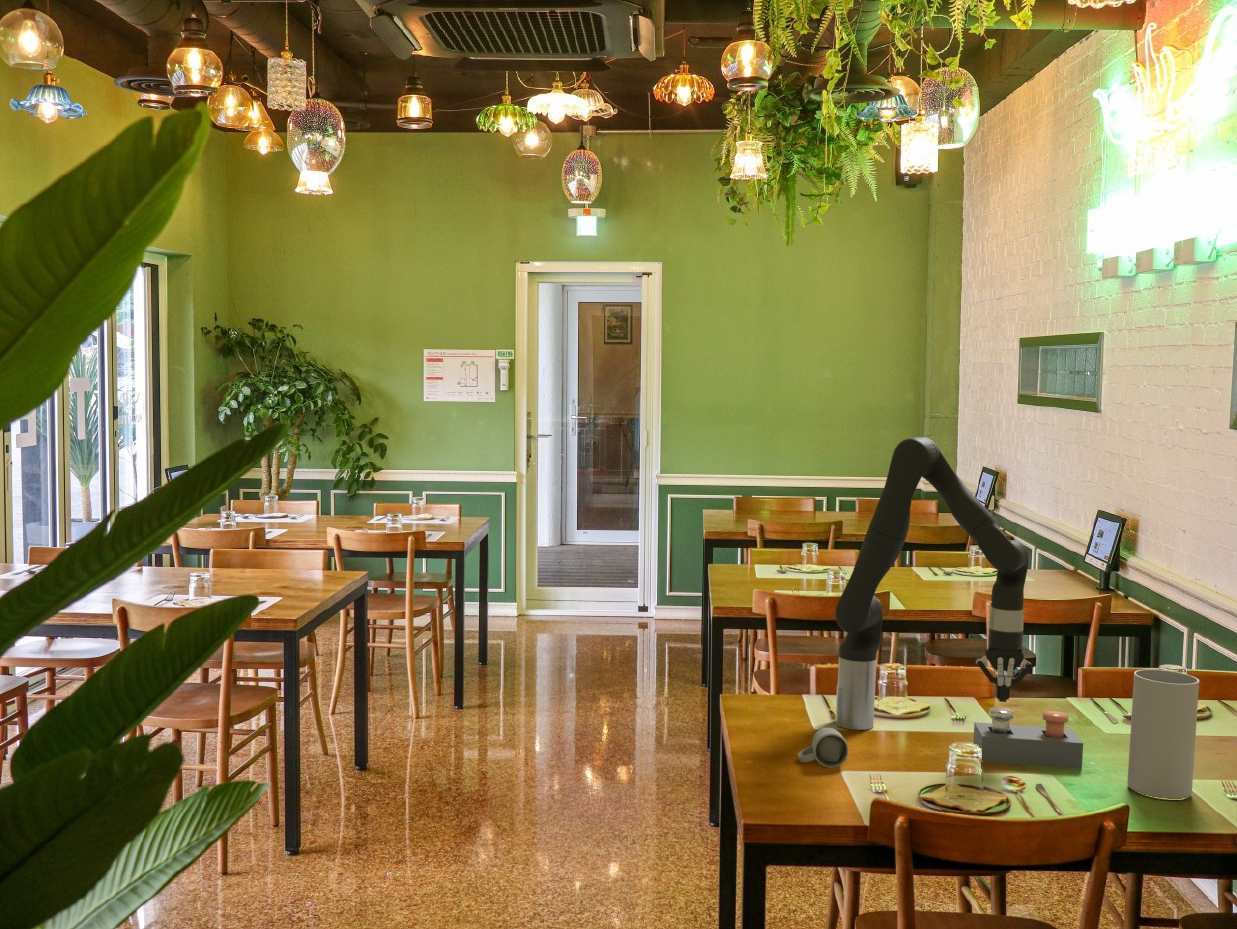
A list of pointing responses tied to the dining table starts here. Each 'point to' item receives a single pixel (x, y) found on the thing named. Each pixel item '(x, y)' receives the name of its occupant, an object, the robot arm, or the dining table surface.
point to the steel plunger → (1001, 719)
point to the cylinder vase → (1163, 733)
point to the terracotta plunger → (1055, 723)
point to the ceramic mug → (826, 749)
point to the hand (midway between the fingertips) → (1002, 701)
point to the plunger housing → (1029, 747)
